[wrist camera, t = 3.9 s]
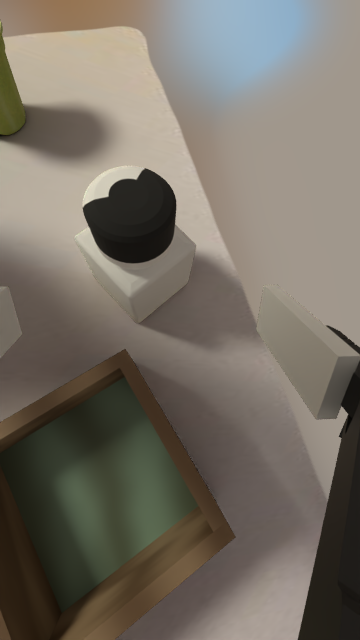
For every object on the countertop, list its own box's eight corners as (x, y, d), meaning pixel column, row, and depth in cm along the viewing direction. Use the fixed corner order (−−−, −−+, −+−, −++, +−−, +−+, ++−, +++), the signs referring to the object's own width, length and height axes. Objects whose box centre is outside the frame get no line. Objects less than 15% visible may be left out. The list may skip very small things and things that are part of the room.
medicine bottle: (189, 282, 28) (209, 200, 17) (137, 325, 26) (120, 266, 15) (145, 238, 29) (135, 134, 18) (93, 276, 28) (45, 187, 16)
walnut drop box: (59, 627, 19) (17, 722, 14) (-14, 449, 22) (-74, 465, 17) (216, 502, 22) (235, 537, 17) (133, 361, 25) (125, 348, 20)
